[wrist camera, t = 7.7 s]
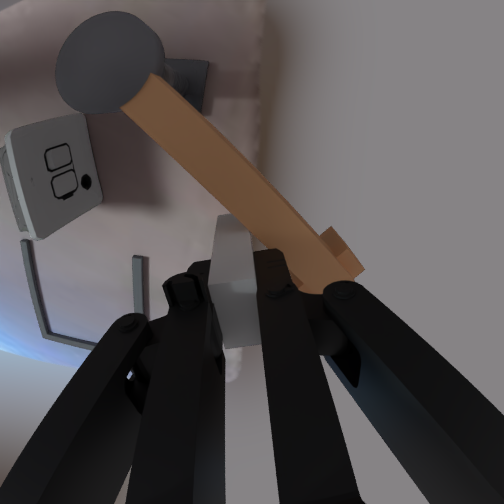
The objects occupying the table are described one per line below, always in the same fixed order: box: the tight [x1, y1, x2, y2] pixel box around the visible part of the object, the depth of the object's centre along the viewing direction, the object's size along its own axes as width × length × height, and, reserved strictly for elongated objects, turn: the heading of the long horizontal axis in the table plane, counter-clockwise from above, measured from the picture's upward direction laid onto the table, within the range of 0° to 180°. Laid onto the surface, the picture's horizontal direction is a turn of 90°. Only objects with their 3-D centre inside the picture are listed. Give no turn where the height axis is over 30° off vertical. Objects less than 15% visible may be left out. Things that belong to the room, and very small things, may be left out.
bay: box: [20, 239, 144, 350], centre depth 33 cm, size 16×15×1 cm
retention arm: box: [55, 11, 365, 294], centre depth 13 cm, size 17×4×4 cm, turn 43°
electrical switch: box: [0, 113, 103, 241], centre depth 22 cm, size 9×5×9 cm, turn 7°
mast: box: [161, 59, 209, 114], centre depth 17 cm, size 5×5×14 cm
